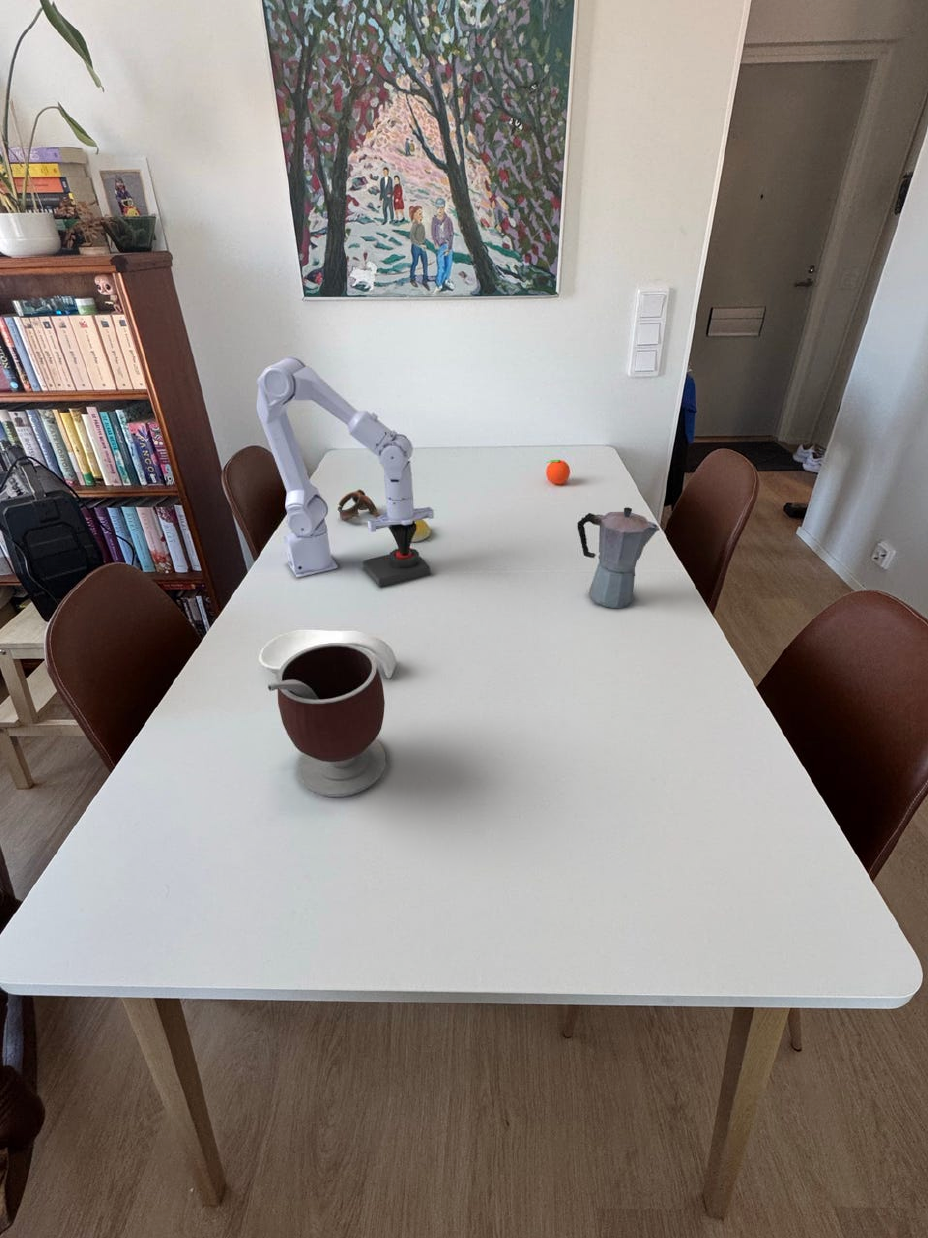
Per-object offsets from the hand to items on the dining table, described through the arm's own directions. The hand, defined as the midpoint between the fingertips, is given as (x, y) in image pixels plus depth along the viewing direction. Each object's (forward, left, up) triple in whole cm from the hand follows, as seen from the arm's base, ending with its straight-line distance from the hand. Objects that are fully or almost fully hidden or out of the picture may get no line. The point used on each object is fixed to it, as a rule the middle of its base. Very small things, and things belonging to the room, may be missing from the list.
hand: (404, 553), depth 139 cm
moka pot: (+32, -32, -4) cm, 45 cm away
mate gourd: (-32, -51, -4) cm, 60 cm away
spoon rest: (-26, -27, -4) cm, 38 cm away
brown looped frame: (+1, +33, -4) cm, 33 cm away
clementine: (+60, +28, -4) cm, 66 cm away
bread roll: (+9, +16, -4) cm, 19 cm away
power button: (0, 0, -2) cm, 2 cm away
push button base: (-2, 0, -4) cm, 5 cm away
